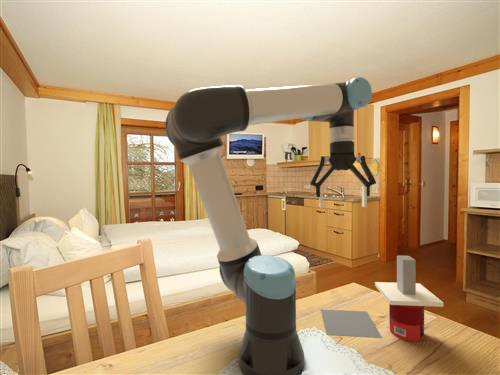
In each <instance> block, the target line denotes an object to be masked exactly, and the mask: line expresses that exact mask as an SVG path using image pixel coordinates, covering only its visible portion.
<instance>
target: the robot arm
mask: <svg viewBox="0 0 500 375" xmlns="http://www.w3.org/2000/svg"><path fill="white" fill-rule="evenodd" d="M372 98H373V91H372V85H371V83H370V82H369V81H368V80H367V79H366V77H362V76H359V77H358V76H357V77H355V78H350V79H349V80H347V81H344V82H335V83H321V84H310V85H309V84H307V85H305V84H304V85H292V86H282V87H267V88H266V87H265V88H254V89H253V88H252V89H246V88H245V87H243V86H242V85H240V84H239V85H220V86H219V85H218V86H209V87H208V86H207V87H199V88H194V89H191V90H188V91H187V92H185V93H183V94H182V95H181V96H180V97H179V98H178V99H177V100H176V102H175V104H174V105H173V107H172V108H171V109H170V110H169V111H168V113H167V115H166V119H165V125H164V127H165V134H166V136H167V139H168V140H169V142H170V143H171V144H172V146H174V148H175V150H176V154H177V157H178V159H179V162H181V163H184V164H186V165H187V166H188V168H189V170H190V173H191V175H192V178H193V180H194V183H195V186H196V188H197V191H198V195H199V198H200V199H201V202H202V205H203V207H204V210H205V213H206V215H207V218H208V221H209V224H210V226H211V228H212V231H213V234H214V237H215V239H216V242H217V245H218V248H219V251H218V252H217V255H216V258H217V262H218V264H219V269H218V270H219V271H218V272H219V274H220V278H221V281H222V282H223V284H224V286H225V287H227V289H229V290H230V291H231V292H232V293H233V294H234V295H235V296H236V297H237V298H238V299H239V300H240V301H241V302H242V303H243V304H244V307H245V308H244V310H245V331H244V334H243V336H242V341H241V343H240V344H241V345H240V347H239V351H238V365H239V369H240V370H241V373H242V374H243V375H302V374H303V372H304V367H305V353H304V349H303V346H302V342H301V339H300V337H299V335H298V331H297V296H296V295H297V294H296V293H297V292H296V290H297V280H296V271H295V268H294V267H293V265H292V264H291V263H290V262H289V261H288V260H286V259H285V258H283V257H279V256H274V255H270V254H269V255H266V254H263V255H262V252H261V249H260V247H259V243H258V241H257V240H256V239H254V238H251V237H250V234H249V232H248V228H247V227H246V226H247V225H246V224H245V221H244V218H243V215H242V212H241V209H240V206H239V203H238V200H237V197H236V195H235V193H234V192H235V191H234V189H233V187H232V184H231V180H230V178H229V175H228V172H227V169H226V167H225V163H224V160H223V158H222V155H221V154H222V151H223V149H224V147H225V145H224V143H223V141H222V137H224V136H227V135H230V134H233V133H237V132H245V131H246V130H247V129H248V128H249V127H250V126H254V125H262V124H268V123H274V122H275V123H276V122H277V123H278V122H283V121H290V120H296V119H300V120H303V121H308V122H321V123H329V124H328V126H329V142H330V143H329V157H325V156H321V157H320V159H319V165H318V166H317V168H316V169H315V170H316V171H315V173H314V174H313V177H312V178H311V181H309V182H310V183H309V184H310V186H313V187H314V188H315V196H316V198H319V199H318V200H319V201H318V202H319V205H318V206H319V208H323V207H324V205H323V204H324V203H323V202H324V199H323V198H324V194H323V190H324V189H323V187H321V186H322V185H323V184H324V182H325V181H326V180H327V179H328V178H329V177H330V175H331V174H332V173H333V172H334V171H348V170H349V171H350V172H352V174H353V175H354V176H355V177H356V178H357V179H358V180H359V181H360V182H361V183H362V184H363V186H361V207H363V208H367V207H368V205H367V204H368V200H367V199H368V197H370V196H371V187H372V185H376V184H377V181H376V179H375V177H374V175H373V173H372V172H371V169H370V168H369V166H368V164H367V161H366V156H365V155H359V156H356V155H355V142H354V140H355V110H356V111H357V110H358V111H359V110H360V109H362V108H364V107H366V106H367V105H368V104H370V102H371V100H372ZM356 161H357V163H358V164H359V166H360V167H361V168H362V170H363V172H364V174H365V176H366V178H367V179H366V178H365V176H364V175H363V174H362V173H361V171H359V170H358V169H357V167H356V166H355V165H354V164H355V163H356ZM327 162H328V163H329V164H330V167H329V168H328V169H327V170H326V171H325V173H324V174H323V175H322V176H321V178H320V179H319V180H318V178H319V176H320V174H321V172H322V169H323V168H324V166H325V164H327ZM317 180H318V181H317Z"/></svg>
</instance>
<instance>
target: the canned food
mask: <svg viewBox="0 0 500 375" xmlns="http://www.w3.org/2000/svg"><path fill="white" fill-rule="evenodd" d="M388 304H389V309H388V310H389V332H390V333H391V334H392V335H393V336H395V337H396V338H398V339H401V340H403V341H407V342H416V343H417V342H421V341H423V340H424V339H425V306H410V305H390V303H389V302H388Z"/></svg>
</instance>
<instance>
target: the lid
mask: <svg viewBox="0 0 500 375" xmlns="http://www.w3.org/2000/svg"><path fill="white" fill-rule="evenodd" d="M416 261H417V260H416V259H414V258H413V257H412V256H410V255H399V254H398V255H397V256H396V282H386V281H384V282H383V281H382V282H381V281H374V286H375V287H376V289H377V290H378V291H379V293H381V295H382V296H383V297H384V298H385V300H386V301H387V302H388V304H389V303H390V305H410V306H424V307H436V308H437V307H439V308H440V307H441V308H443V307H444V305H445V304H444V302H443V301H442V300H441V299H439V297H437V296H436V295H435V294H433V293H432V292H431V291H430V290H428V289H427V288H426V287H425V286H424V285H423V284H421V282H419V283H417V282H416V280H417V279H416V278H417V277H416V275H417V274H416V264H417V263H416Z"/></svg>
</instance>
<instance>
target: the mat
mask: <svg viewBox="0 0 500 375" xmlns="http://www.w3.org/2000/svg"><path fill="white" fill-rule="evenodd" d="M319 311H320V313H321V314H320V315H321V318H322V322H323V325H324V329H325V334H326V336H338V337H354V338H357V337H358V338H359V337H360V338H374V339H376V338H377V339H383V336H382V335H381V333H380V332H379V330H378V328H377V326H376V324H375V323H374V322H373V321H374V320H372V318H371V315H370V314H369V312H368V311H363V310H342V309H341V310H338V309H319Z"/></svg>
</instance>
